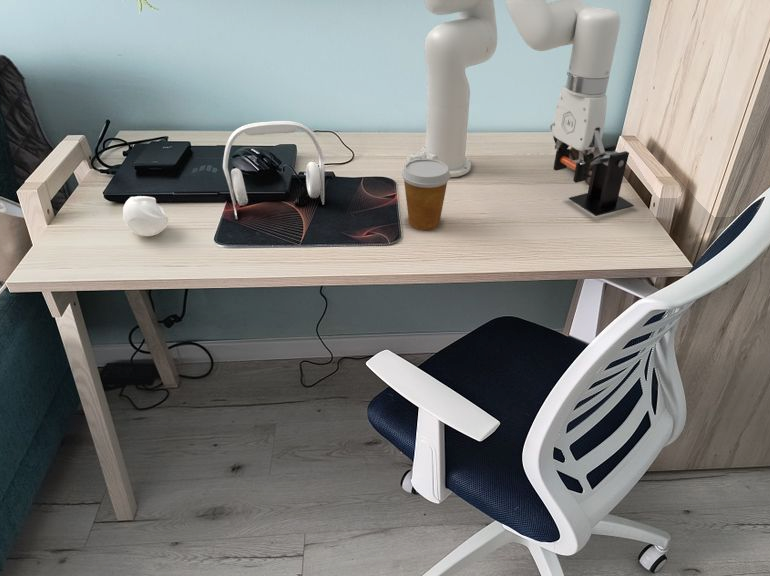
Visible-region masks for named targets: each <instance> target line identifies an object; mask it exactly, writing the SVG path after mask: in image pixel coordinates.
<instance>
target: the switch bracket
mask: <svg viewBox="0 0 770 576" xmlns="http://www.w3.org/2000/svg"><path fill="white" fill-rule="evenodd" d="M603 147H604V150H605V152H606V151H613V150H614V151H616V148H617V146H616V144H613V143H611V144H607V145H603ZM603 155H604V154H603ZM603 155H601V156H603ZM629 155H630V152H628V151H627V150H624V151H621V152H618V153H615V154H611V155H610V158H609V162H608V166H607V165H605V164H603V163H599V164H594V165H593V170H592V171H591V174H590V175H591V179H590V184H589V185H588V189H587V192H586V193H582V194H578V195H574V196H570V197H568V200H570V201H572V202H573V203H574V204H576V205H578V206H579V207H581V208H583V209H584V210H585V211H587V212H588V213H590V214H592V215H593V216H595V217H599V216H602V215H605V214H609V213H612V212H617V211H621V210H624V209H628V208H631V207H634V206H635V205H634V204H633V203H632V202H630V201H629V200H626V199H625V198H623V197H622V196H620V192H621V188H622V183H623V179H624V176H625V172H626V168H627V164H628V160H629V157H630V156H629ZM601 156H600V157H601Z"/></svg>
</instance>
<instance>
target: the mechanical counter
mask: <svg viewBox="0 0 770 576" xmlns="http://www.w3.org/2000/svg"><path fill="white" fill-rule="evenodd" d="M569 149H570V154H569V159H571V160H579V150H576V149H575V148H573V147H571V146H570V147H569ZM586 155H588V152H587V150H585V156H586ZM593 165H594V164H592V165H590V168H589V172H592V170H593ZM572 171H573V172H574V173H575V171H574V170H573V169H572ZM591 175H592V174H590V173H588V177H587V180H586V181H584V182H585V184H586V185H588V186H589V184H590V179H591Z"/></svg>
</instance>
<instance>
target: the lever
mask: <svg viewBox="0 0 770 576" xmlns="http://www.w3.org/2000/svg"><path fill="white" fill-rule="evenodd" d="M615 153H619V152H618V151H617V150H615V151H614V150H613V151H606V152H605V153H604V155H603V156H601V157H598V158H597V159H595V160H594V161H593V162H592V163H590V165H592V164H599V163H603V164H605V165H607V166H608V162H609V158H610V155H611V154H615ZM560 162H561V163H563V164H565V165H566V166H567V168H570V169H571V170H572V171H573V170H574V171H575V168H576V164H577V163H579V160H571V159H569V158H567V157H566V156H562V157H561V158H560ZM574 171H573V172H574Z"/></svg>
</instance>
